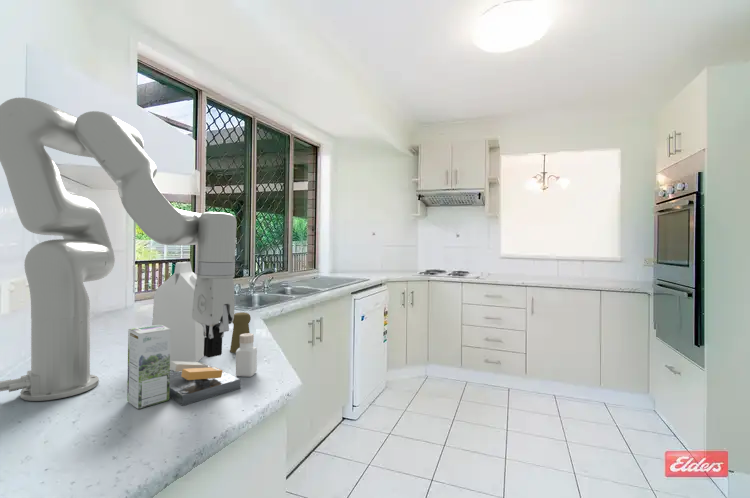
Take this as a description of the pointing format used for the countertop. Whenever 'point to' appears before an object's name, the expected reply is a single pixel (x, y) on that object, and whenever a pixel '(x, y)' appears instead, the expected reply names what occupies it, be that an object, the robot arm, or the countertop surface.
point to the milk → (179, 314)
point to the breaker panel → (200, 387)
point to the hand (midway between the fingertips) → (212, 355)
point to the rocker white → (186, 365)
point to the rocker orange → (201, 373)
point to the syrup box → (148, 365)
